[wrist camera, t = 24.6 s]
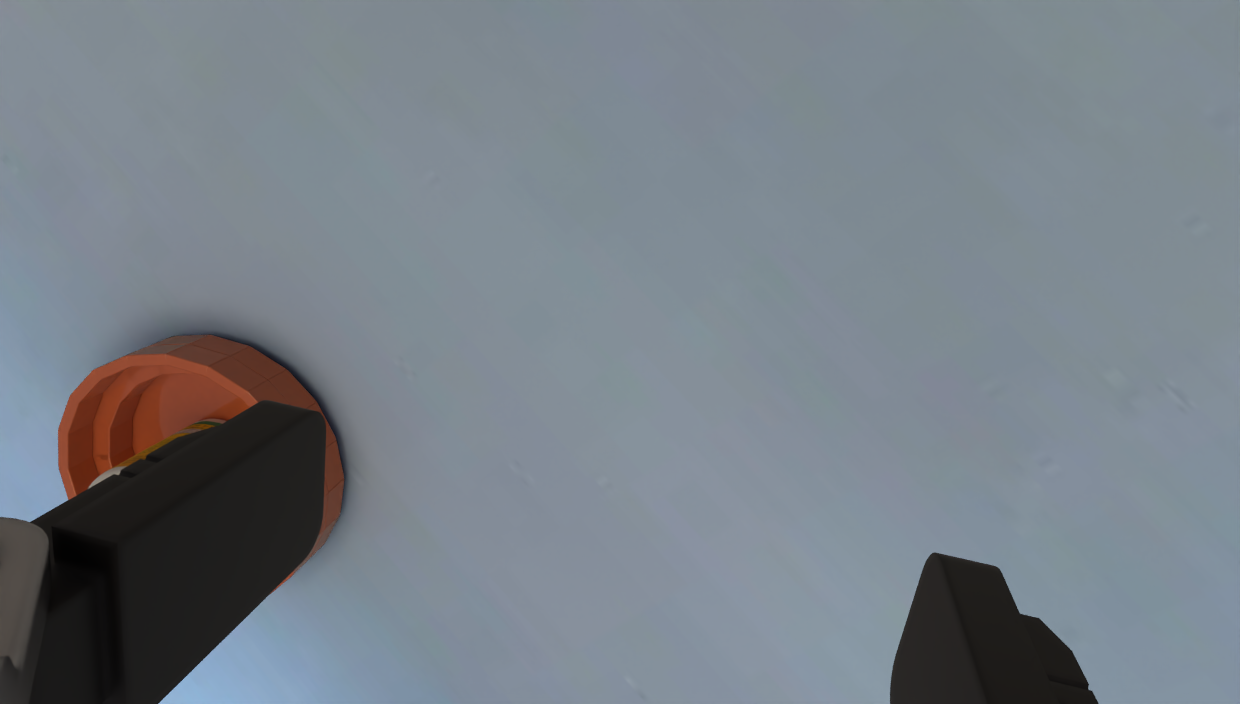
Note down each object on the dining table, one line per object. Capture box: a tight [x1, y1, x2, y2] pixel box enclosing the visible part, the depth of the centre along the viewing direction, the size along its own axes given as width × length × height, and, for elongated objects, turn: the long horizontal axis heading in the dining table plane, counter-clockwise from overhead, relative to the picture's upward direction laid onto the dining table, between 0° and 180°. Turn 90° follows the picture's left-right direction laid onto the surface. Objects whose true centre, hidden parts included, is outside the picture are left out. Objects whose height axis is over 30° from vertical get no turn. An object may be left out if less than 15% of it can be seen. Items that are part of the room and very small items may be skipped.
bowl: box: [58, 335, 344, 595], centre depth 44 cm, size 14×14×4 cm
